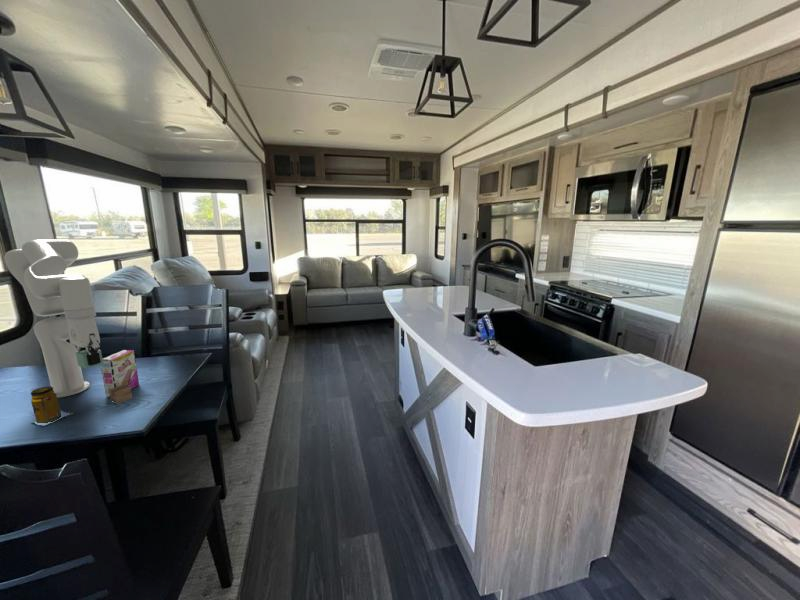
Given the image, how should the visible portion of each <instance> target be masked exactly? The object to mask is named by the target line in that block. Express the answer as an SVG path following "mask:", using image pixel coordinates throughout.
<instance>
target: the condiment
mask: <svg viewBox="0 0 800 600" xmlns="http://www.w3.org/2000/svg"><path fill="white" fill-rule="evenodd" d="M30 395H31V400H30V403H31V406H32V410H33V414H34V418H35V421H36V422H37V423H48V422H53V421H55V420H57V419H59V418H60V417H61V412H60V411H61V409H60V404H59V401H58V398H57V396H56V394H55V393H54V390H53V387H51V385H50V386H49V385H48V386H42V387H38V388H35V389H33V390H31V391H30ZM70 413H71V414H69V415H67V416H65V418H67V417H70V416H71V415H73V414H74V412H70ZM62 419H64V418H62ZM62 419H61V420H62Z"/></svg>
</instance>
